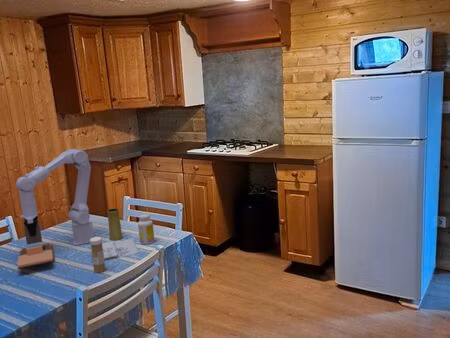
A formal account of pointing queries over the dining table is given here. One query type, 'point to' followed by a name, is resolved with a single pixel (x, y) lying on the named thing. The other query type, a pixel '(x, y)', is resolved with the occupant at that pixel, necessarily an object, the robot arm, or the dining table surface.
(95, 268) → the sprinkles bottle
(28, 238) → the plug
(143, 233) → the supplement bottle
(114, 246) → the open book
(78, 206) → the robot arm
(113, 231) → the vase
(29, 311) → the dining table surface
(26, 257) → the panel
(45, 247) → the socket
